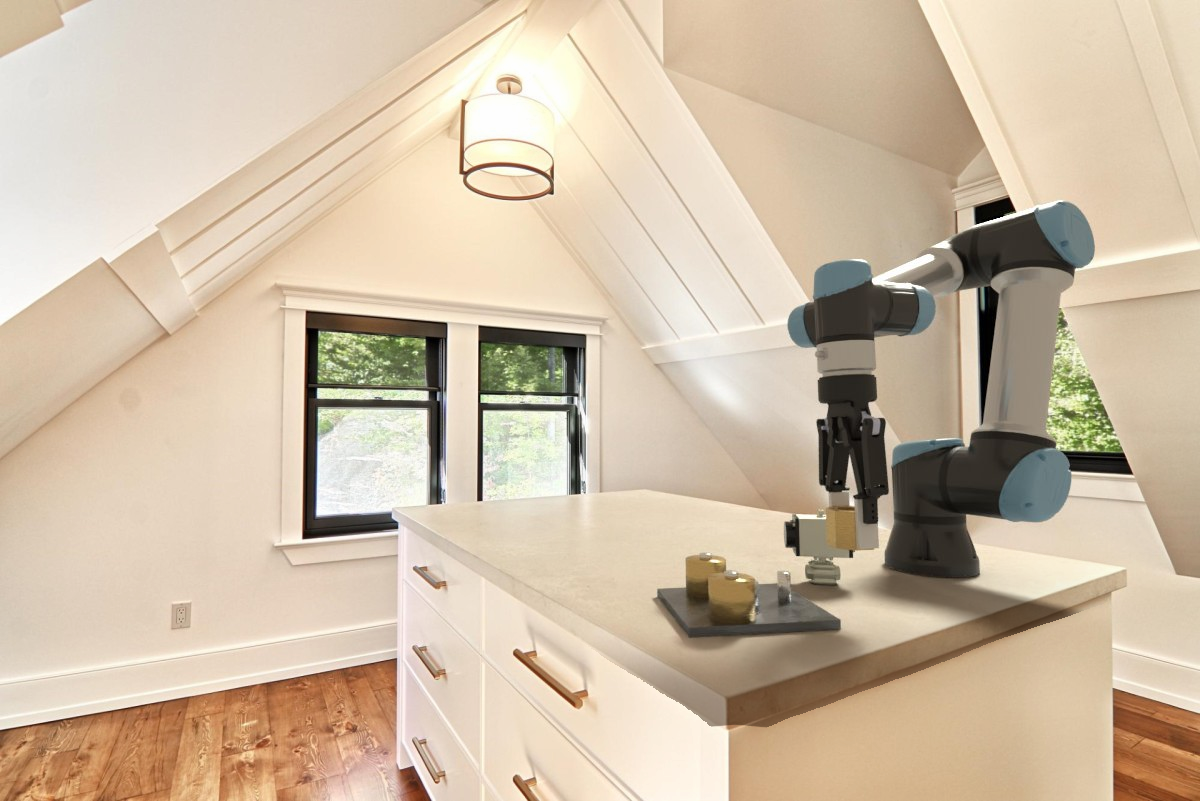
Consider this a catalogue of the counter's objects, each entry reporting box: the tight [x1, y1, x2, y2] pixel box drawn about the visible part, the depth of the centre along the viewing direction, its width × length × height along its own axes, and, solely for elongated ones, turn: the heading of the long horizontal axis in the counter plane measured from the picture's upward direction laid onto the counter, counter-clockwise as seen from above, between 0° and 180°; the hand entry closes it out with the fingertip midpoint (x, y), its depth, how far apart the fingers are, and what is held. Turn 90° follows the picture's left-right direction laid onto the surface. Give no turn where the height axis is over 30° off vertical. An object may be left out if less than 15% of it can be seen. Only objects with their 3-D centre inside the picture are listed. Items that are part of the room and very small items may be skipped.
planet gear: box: [825, 505, 876, 552], centre depth 82 cm, size 6×6×5 cm
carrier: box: [656, 552, 842, 639], centre depth 84 cm, size 20×18×7 cm
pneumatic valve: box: [783, 509, 856, 586], centre depth 100 cm, size 6×12×12 cm, turn 78°
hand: (853, 542), depth 82 cm, fingers closed on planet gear, 6 cm apart
